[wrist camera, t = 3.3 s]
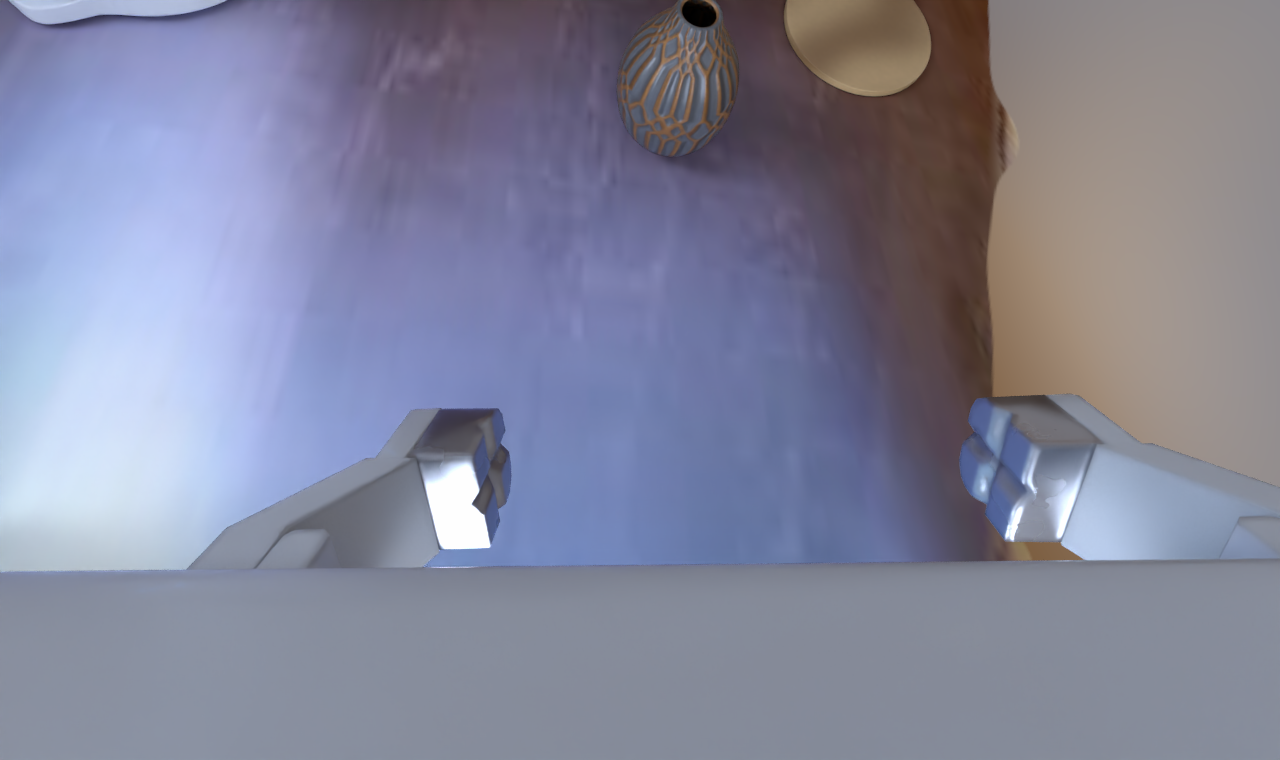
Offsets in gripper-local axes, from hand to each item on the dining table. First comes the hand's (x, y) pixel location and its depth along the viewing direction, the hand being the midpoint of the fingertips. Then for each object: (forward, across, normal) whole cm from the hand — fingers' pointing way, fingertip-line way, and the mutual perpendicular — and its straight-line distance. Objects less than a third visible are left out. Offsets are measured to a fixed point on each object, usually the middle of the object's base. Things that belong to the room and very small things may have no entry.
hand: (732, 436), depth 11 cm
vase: (+33, +1, -2) cm, 33 cm away
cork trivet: (+41, -13, -8) cm, 44 cm away
